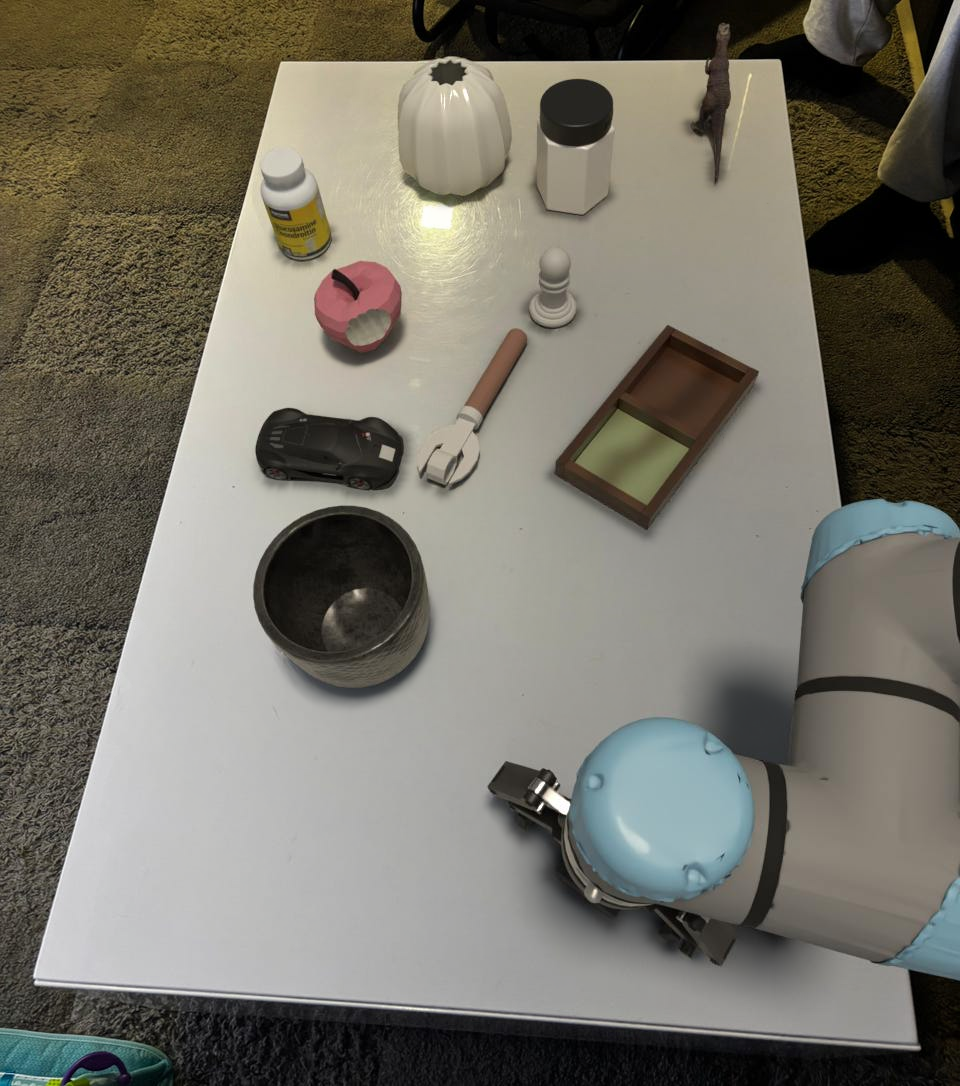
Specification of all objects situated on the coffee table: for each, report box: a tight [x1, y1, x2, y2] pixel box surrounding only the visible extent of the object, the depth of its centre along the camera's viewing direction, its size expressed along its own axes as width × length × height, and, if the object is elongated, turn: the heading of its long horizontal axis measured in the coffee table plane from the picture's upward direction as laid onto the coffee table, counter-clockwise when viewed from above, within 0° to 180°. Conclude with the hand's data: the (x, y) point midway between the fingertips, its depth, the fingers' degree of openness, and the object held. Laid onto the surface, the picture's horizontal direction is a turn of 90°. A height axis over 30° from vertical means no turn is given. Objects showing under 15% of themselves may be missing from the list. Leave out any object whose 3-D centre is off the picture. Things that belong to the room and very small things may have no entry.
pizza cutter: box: [416, 328, 528, 486], centre depth 87 cm, size 20×6×3 cm, turn 154°
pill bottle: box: [259, 146, 332, 261], centre depth 95 cm, size 6×6×12 cm
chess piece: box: [528, 246, 578, 329], centre depth 89 cm, size 5×5×9 cm
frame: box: [554, 324, 760, 531], centre depth 84 cm, size 11×21×3 cm, turn 143°
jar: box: [536, 78, 615, 216], centre depth 96 cm, size 9×8×12 cm
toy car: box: [254, 407, 405, 491], centre depth 85 cm, size 7×15×4 cm, turn 81°
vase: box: [397, 55, 513, 197], centre depth 98 cm, size 14×14×13 cm
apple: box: [313, 260, 403, 354], centre depth 89 cm, size 10×9×10 cm
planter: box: [252, 504, 431, 689], centre depth 72 cm, size 14×14×13 cm
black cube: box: [554, 858, 622, 919], centre depth 65 cm, size 6×6×4 cm
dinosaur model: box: [690, 22, 732, 179], centre depth 98 cm, size 4×12×15 cm
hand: (598, 866), depth 67 cm, fingers open, 13 cm apart
